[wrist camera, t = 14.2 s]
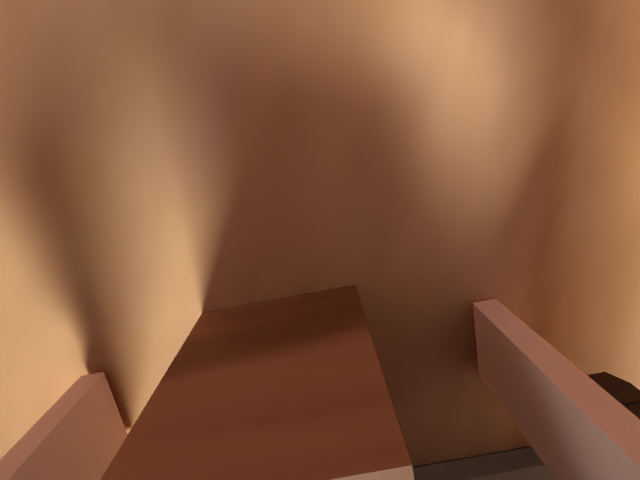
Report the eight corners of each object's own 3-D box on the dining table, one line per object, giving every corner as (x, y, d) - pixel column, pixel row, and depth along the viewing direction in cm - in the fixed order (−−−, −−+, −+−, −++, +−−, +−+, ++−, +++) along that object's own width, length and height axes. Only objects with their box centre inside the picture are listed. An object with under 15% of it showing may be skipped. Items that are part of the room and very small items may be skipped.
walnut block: (202, 313, 12) (72, 525, 6) (354, 284, 12) (412, 464, 5) (238, 439, 14) (170, 736, 7) (377, 414, 13) (447, 691, 7)
